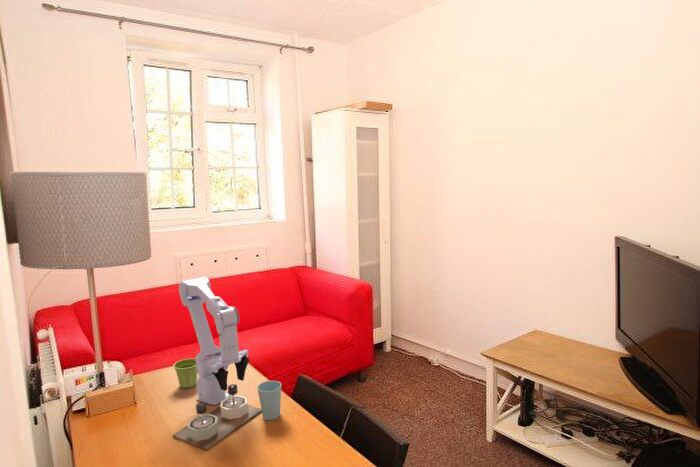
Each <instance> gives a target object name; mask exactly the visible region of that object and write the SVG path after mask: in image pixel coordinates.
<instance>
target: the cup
mask: <svg viewBox="0 0 700 467" xmlns="http://www.w3.org/2000/svg"><path fill="white" fill-rule="evenodd" d="M257 394H258V398H259V403H260V409H262V412H261V413H262V418H263V419H264V420H266V421H273V420H274V421H275V420H277V419H278V418H279V417H280V415H281V401H282V400H281V399H282V383H281V382H280V381H277V380H267V381H263V382H261V383H259V384H258V385H257Z"/></svg>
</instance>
